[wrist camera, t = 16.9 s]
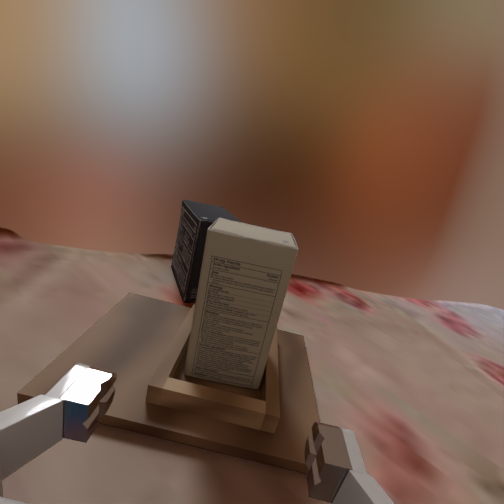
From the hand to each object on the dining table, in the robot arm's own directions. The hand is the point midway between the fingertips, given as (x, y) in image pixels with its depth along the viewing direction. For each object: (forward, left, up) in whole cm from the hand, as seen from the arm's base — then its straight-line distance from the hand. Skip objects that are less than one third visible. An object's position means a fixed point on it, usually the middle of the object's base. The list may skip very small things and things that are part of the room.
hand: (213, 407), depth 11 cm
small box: (-6, +26, -8) cm, 28 cm away
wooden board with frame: (-2, +11, -8) cm, 14 cm away
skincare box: (0, +11, -7) cm, 13 cm away
